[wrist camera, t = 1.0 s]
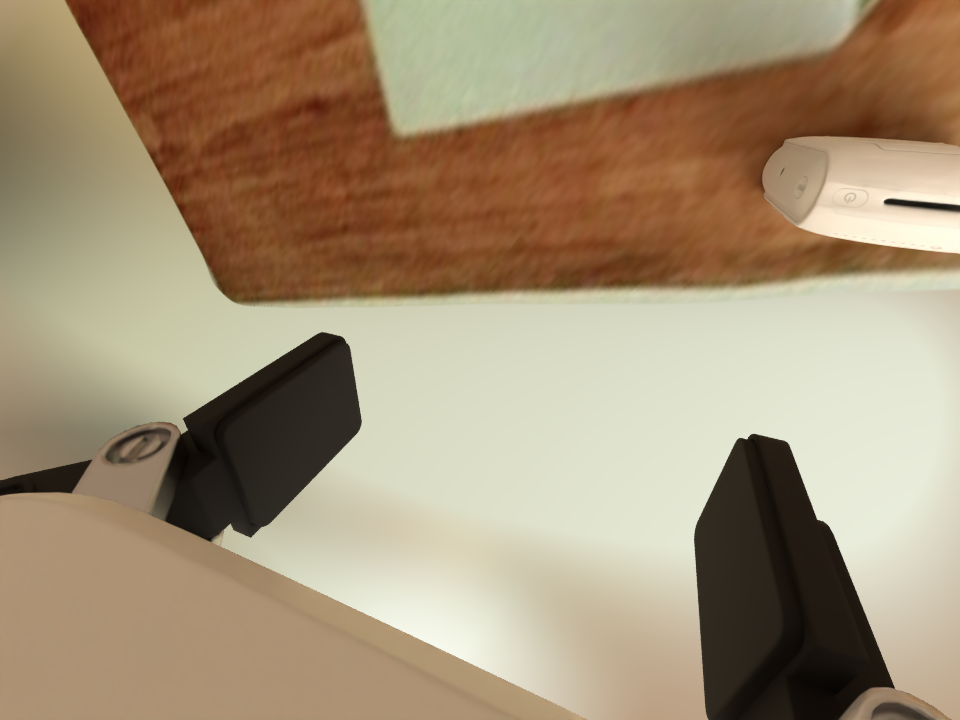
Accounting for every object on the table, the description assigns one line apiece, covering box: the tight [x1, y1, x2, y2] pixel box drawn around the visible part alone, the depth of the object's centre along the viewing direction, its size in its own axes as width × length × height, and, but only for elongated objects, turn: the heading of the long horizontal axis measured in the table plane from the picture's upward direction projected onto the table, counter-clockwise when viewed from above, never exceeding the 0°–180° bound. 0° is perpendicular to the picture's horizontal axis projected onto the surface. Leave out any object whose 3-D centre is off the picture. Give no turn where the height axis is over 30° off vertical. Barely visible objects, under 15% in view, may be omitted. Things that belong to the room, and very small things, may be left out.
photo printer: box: [762, 136, 960, 253], centre depth 21 cm, size 10×4×12 cm, turn 90°
